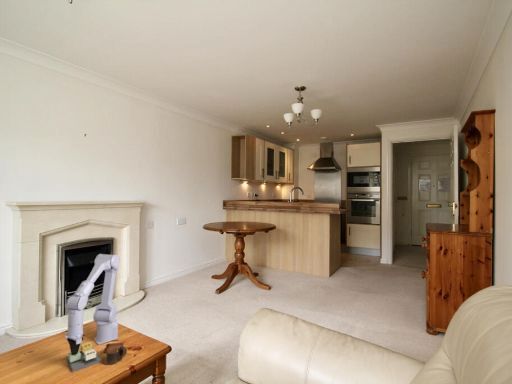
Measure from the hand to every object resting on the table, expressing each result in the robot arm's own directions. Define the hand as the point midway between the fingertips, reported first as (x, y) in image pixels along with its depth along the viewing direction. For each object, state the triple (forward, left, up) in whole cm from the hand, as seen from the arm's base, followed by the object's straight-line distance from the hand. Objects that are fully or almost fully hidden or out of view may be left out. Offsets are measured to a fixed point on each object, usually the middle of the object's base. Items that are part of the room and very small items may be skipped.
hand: (74, 353), depth 124 cm
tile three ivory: (-5, +4, -1) cm, 7 cm away
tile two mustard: (-6, -4, -1) cm, 7 cm away
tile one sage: (0, 0, -2) cm, 2 cm away
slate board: (-4, 0, -4) cm, 5 cm away
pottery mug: (-14, +9, -4) cm, 17 cm away
